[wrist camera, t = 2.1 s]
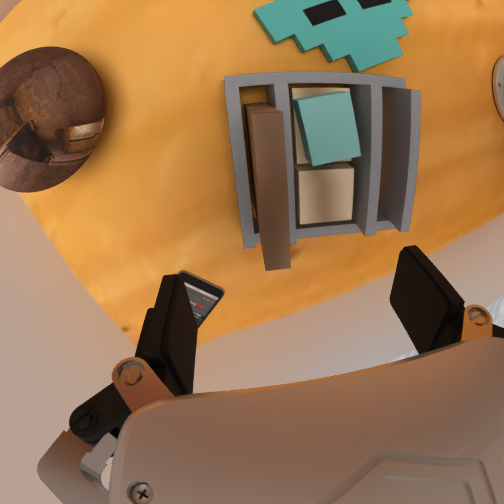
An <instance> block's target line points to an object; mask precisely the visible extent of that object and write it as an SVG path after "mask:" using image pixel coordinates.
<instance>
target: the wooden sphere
mask: <svg viewBox="0 0 504 504" xmlns="http://www.w3.org/2000/svg"><path fill="white" fill-rule="evenodd" d="M105 108H106V103H105V93H104V89H103V85H102V82H101V80H100V77H99V75H98V74H97V72H96V70H95V69H94V67H93V66H92V65H91V64H90V63H89V62H88V61H87V60H86V59H85V58H84V57H82V56H81V55H79V54H78V53H76V52H74V51H72V50H69V49H66V48H61V47H40V48H36V49H32V50H29V51H26V52H24V53H22V54H20V55H18V56H16V57H14V58H13V59H11V60H10V61H8V62H7V63H6V64H5V65H3V66H2V67H1V68H0V186H2V187H4V188H6V189H9V190H12V191H16V192H38V191H42V190H46V189H49V188H51V187H54V186H56V185H58V184H60V183H61V182H63V181H64V180H66V179H67V178H69V177H70V176H71V175H73V174H74V173H75V172H76V171H77V170H78V169H79V168H80V167H81V166H82V165H83V164H84V162H85V161H86V160H87V159H88V157H89V156H90V154H91V153H92V151H93V149H94V148H95V146H96V144H97V142H98V139H99V137H100V134H101V131H102V128H103V124H104V119H105Z"/></svg>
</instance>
